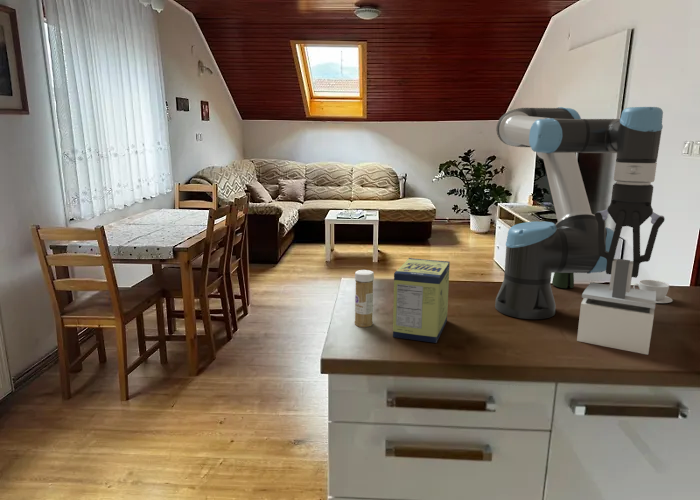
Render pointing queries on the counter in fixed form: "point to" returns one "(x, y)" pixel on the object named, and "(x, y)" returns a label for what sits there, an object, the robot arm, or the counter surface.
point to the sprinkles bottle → (364, 298)
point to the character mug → (563, 280)
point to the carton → (615, 325)
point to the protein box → (420, 299)
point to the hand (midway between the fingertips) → (619, 289)
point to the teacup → (656, 289)
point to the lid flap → (621, 290)
